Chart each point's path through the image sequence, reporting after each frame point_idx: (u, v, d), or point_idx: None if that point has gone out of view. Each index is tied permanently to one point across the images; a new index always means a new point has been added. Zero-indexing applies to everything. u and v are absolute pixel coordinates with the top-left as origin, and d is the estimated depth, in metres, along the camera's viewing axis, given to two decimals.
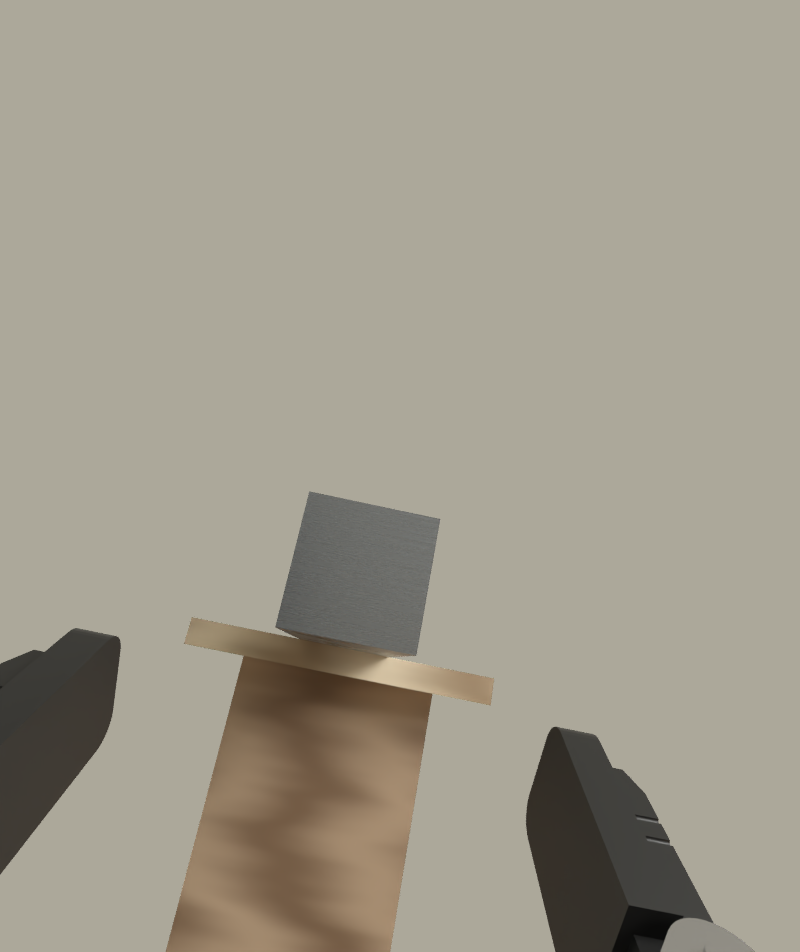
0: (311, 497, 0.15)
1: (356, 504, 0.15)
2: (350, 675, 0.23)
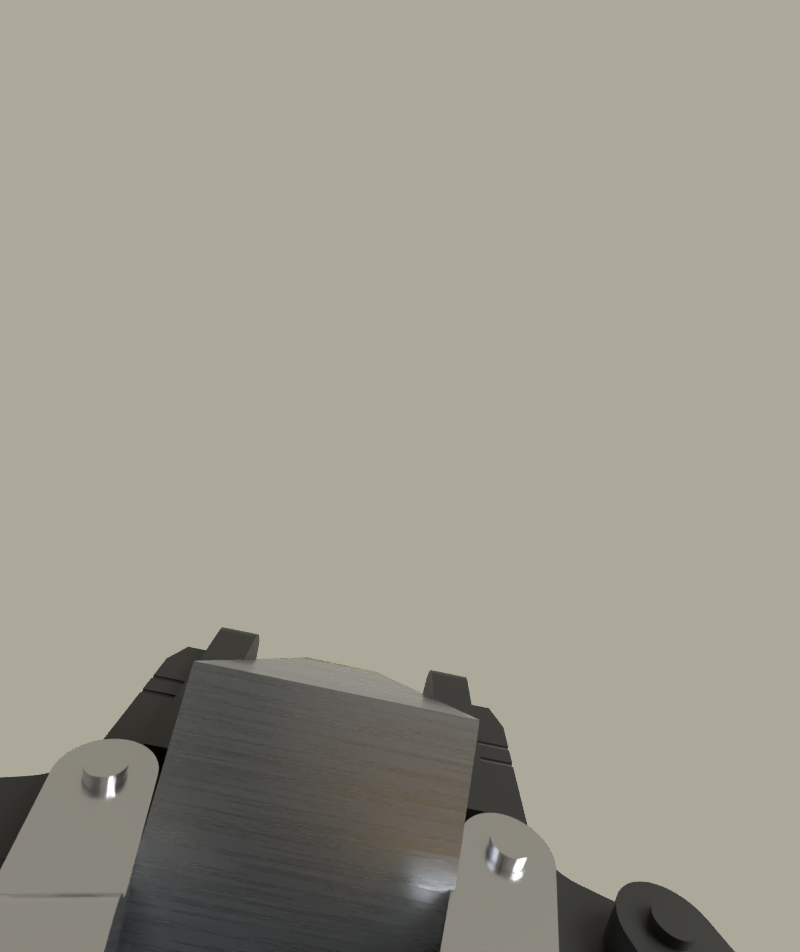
0: (198, 674, 0.07)
1: (295, 689, 0.07)
2: None
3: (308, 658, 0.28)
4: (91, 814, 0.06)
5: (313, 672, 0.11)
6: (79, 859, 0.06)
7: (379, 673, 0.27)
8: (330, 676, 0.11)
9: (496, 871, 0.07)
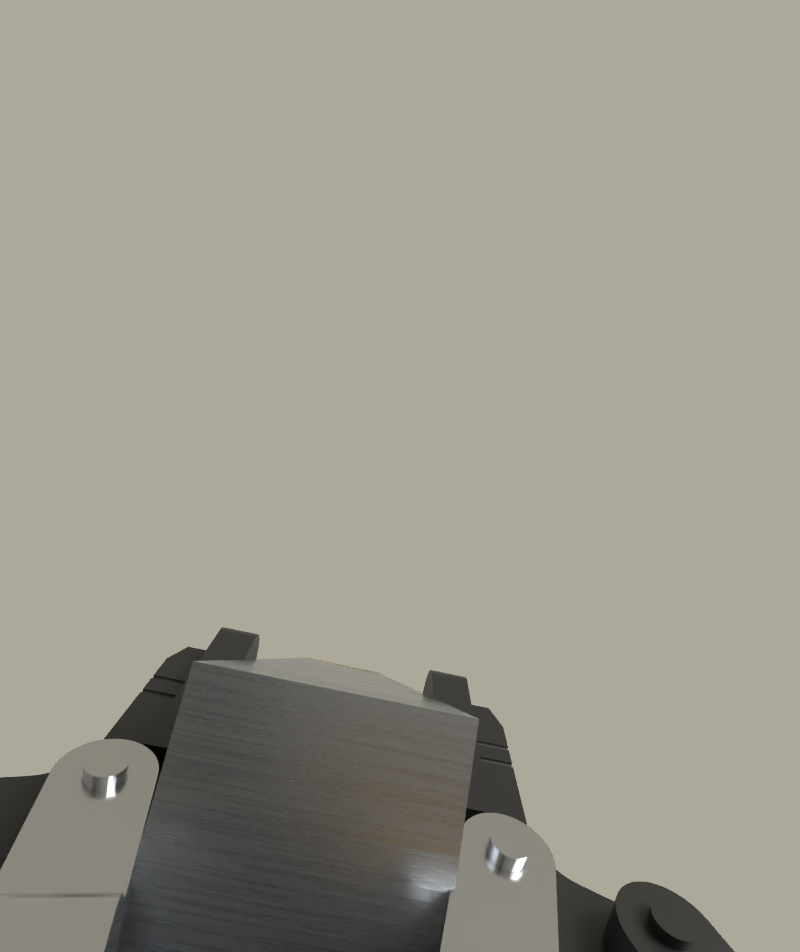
0: (197, 674, 0.07)
1: (295, 689, 0.07)
2: None
3: (308, 658, 0.28)
4: (91, 814, 0.06)
5: (313, 672, 0.11)
6: (79, 859, 0.06)
7: (379, 673, 0.27)
8: (330, 676, 0.11)
9: (496, 871, 0.07)
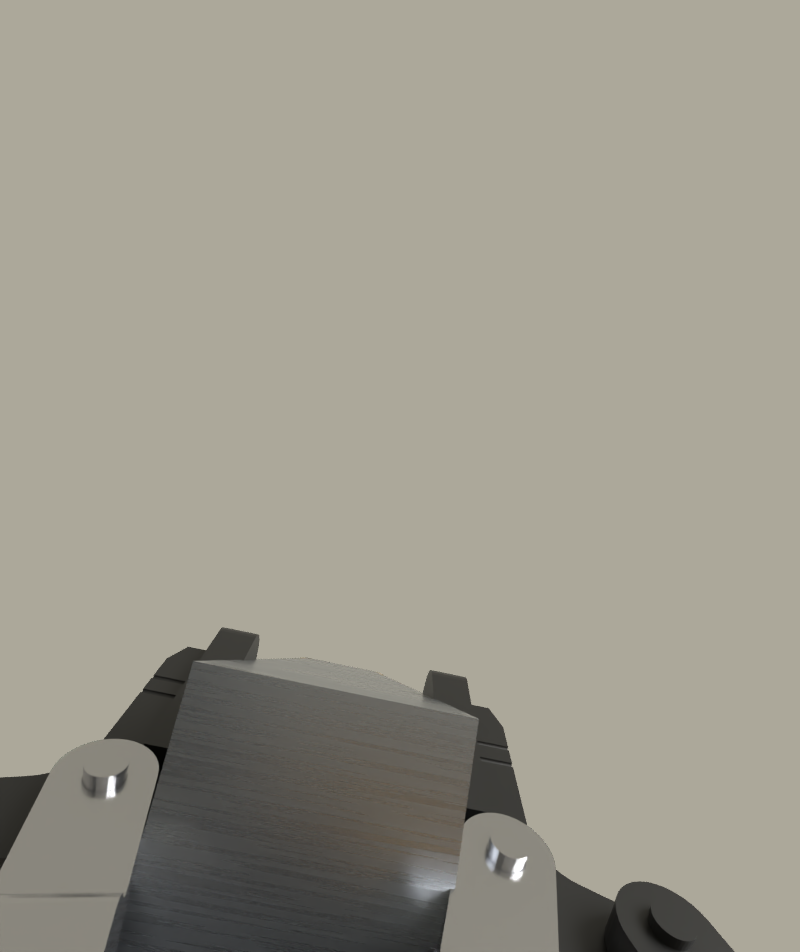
0: (197, 674, 0.07)
1: (294, 689, 0.07)
2: None
3: (308, 658, 0.28)
4: (91, 814, 0.06)
5: (313, 672, 0.11)
6: (79, 859, 0.06)
7: (379, 673, 0.27)
8: (330, 676, 0.11)
9: (496, 871, 0.07)
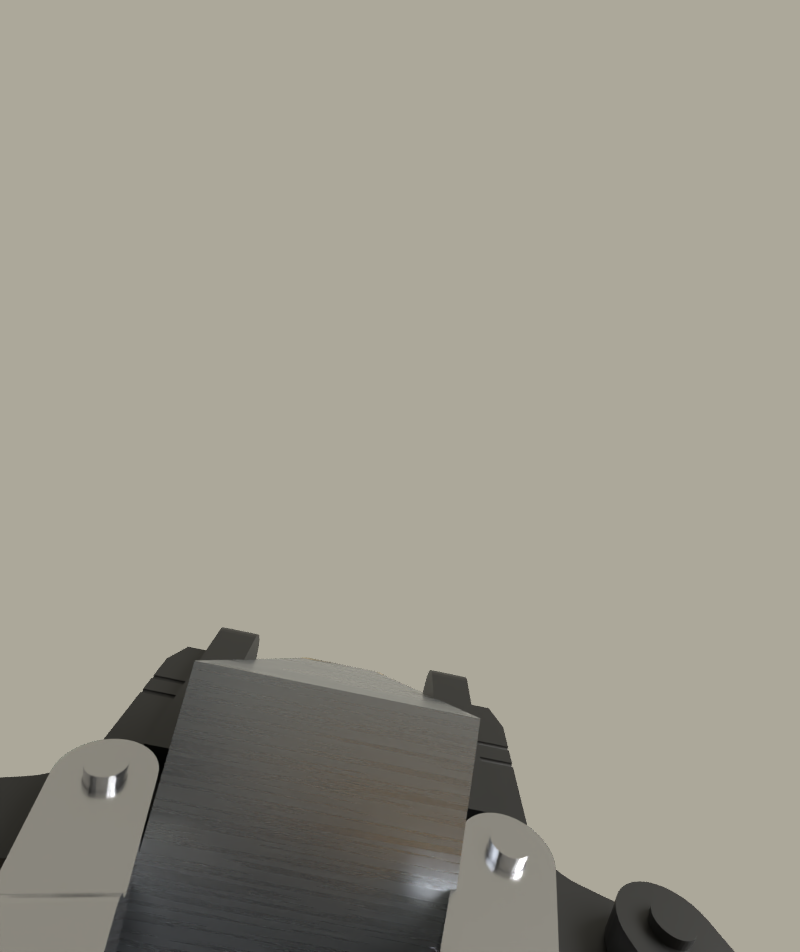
0: (199, 674, 0.07)
1: (296, 688, 0.07)
2: None
3: (309, 658, 0.28)
4: (91, 814, 0.06)
5: (314, 672, 0.11)
6: (79, 859, 0.06)
7: (380, 673, 0.27)
8: (331, 676, 0.11)
9: (496, 871, 0.07)
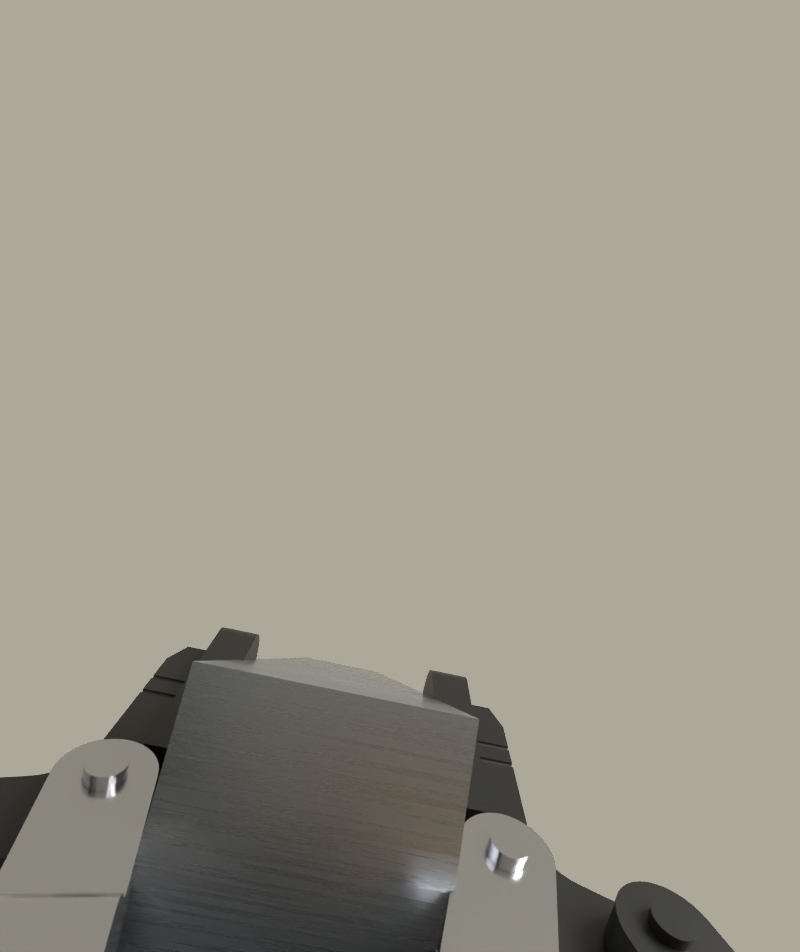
0: (196, 674, 0.07)
1: (295, 689, 0.07)
2: None
3: (308, 658, 0.28)
4: (92, 813, 0.07)
5: (313, 672, 0.11)
6: (79, 860, 0.06)
7: (379, 673, 0.27)
8: (330, 676, 0.11)
9: (496, 871, 0.07)
